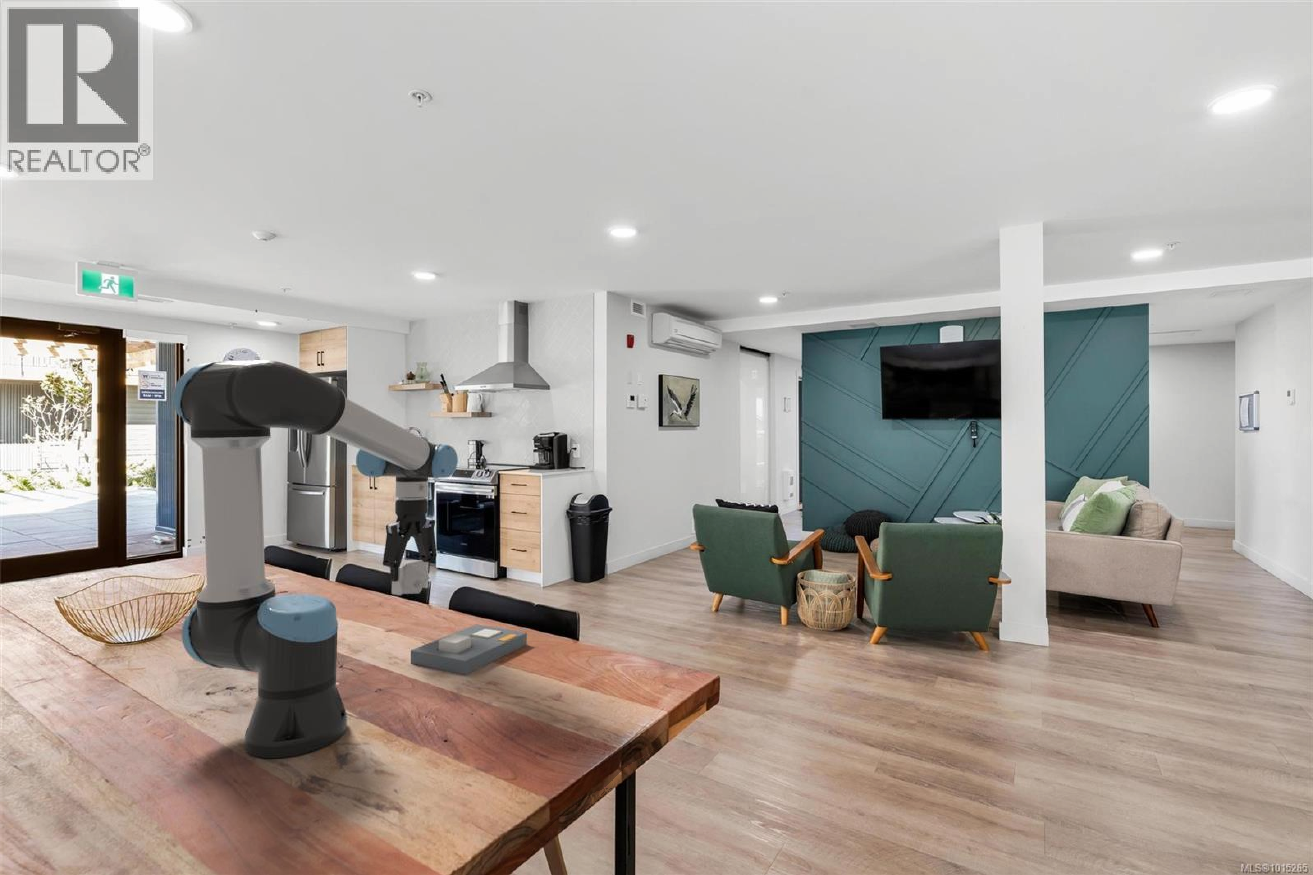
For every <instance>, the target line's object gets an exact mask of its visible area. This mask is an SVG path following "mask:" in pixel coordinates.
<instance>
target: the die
mask: <svg viewBox="0 0 1313 875" xmlns="http://www.w3.org/2000/svg"><path fill="white" fill-rule="evenodd" d="M400 567H402V568H403V579H402V582H401V583H402V595H404V594H405V595H409V594H411V595H413V594H414V595H415V594H420V593H421V591H422V590H423V589H424V588H423V587H424V585H425V584H426V582H427V581H428V582H429V580H430V576H429V574H428V573H427V571H426V568H425V565H424V563H423V560H421V559H418V560H417V559H415V560H413V559H408V560H403V559H402V561H401V564H400Z"/></svg>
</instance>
